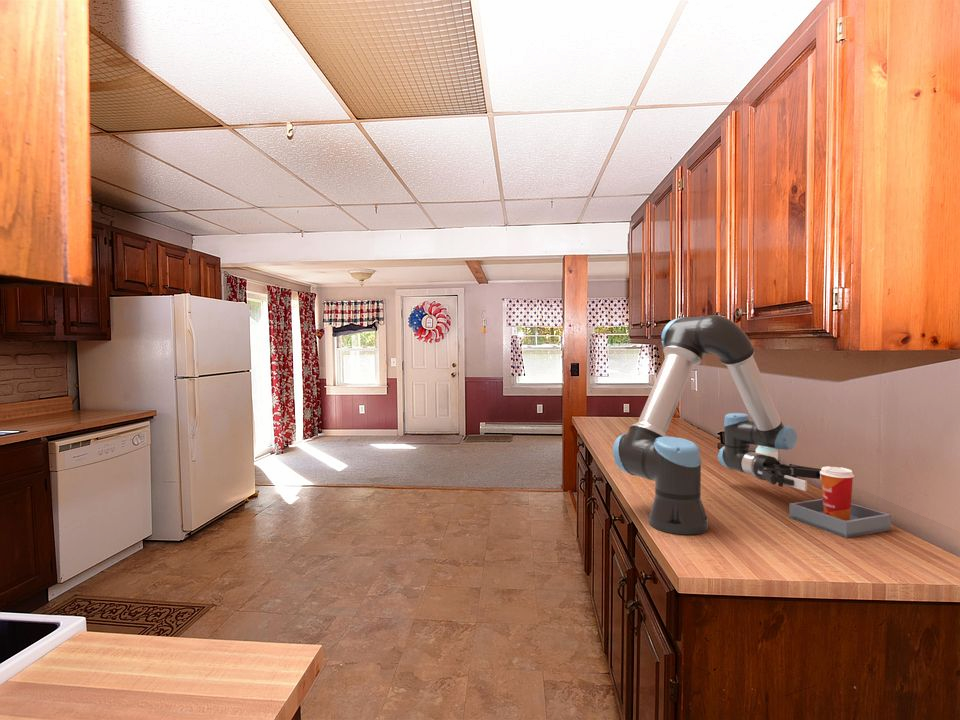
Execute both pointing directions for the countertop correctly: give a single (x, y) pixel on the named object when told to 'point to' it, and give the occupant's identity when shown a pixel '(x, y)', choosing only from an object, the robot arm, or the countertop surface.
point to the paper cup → (837, 491)
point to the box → (858, 524)
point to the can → (767, 451)
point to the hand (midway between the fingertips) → (824, 483)
